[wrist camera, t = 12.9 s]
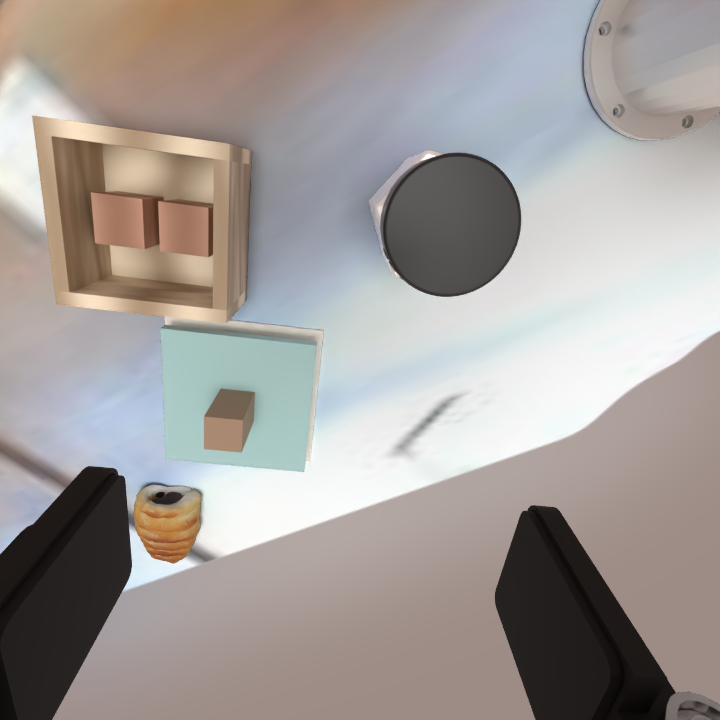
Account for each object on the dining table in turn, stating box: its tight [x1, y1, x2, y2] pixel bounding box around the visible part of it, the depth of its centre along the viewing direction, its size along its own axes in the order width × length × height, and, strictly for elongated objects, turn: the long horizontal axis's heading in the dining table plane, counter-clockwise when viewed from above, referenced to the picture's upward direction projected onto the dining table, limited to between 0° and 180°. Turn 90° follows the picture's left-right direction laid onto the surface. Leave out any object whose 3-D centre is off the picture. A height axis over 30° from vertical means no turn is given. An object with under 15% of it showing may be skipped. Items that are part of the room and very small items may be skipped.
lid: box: [161, 325, 317, 472], centre depth 39 cm, size 13×13×8 cm
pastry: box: [133, 485, 201, 563], centre depth 46 cm, size 9×7×4 cm
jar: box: [368, 150, 521, 297], centre depth 31 cm, size 9×8×12 cm
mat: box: [165, 317, 324, 461], centre depth 42 cm, size 14×14×1 cm
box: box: [32, 116, 252, 324], centre depth 33 cm, size 12×12×7 cm
